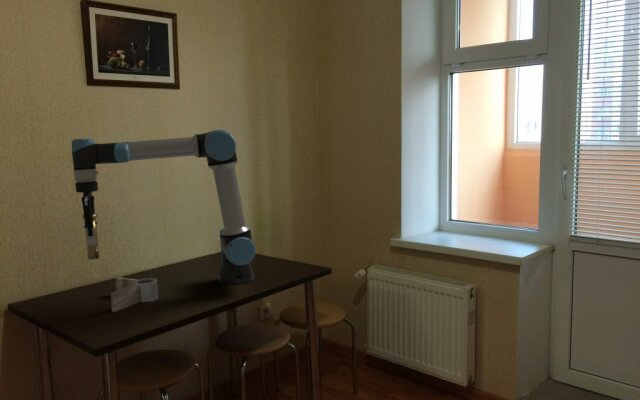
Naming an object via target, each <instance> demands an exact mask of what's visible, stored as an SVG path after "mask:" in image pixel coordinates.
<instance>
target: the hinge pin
mask: <svg viewBox="0 0 640 400" xmlns="http://www.w3.org/2000/svg"><path fill="white" fill-rule="evenodd" d="M92 216H93V225H94V226H93V227H94V231H95V241H96V244H95V245H88V243H87V234H86V228H84V231H85V233H84V234H85V240H86V250H87V251H86V253H87V260H89V261H90V260H97V259H100V247H99V238H98V237H99V236H98V229H97V225H98V224H96V222H97V218H98V213H96V212H95V213H94V214H92ZM81 218H82V219H83V223H84V224H85V221H84V214H82V215H81Z"/></svg>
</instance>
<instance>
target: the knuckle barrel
mask: <svg viewBox="0 0 640 400" xmlns="http://www.w3.org/2000/svg"><path fill="white" fill-rule="evenodd" d="M136 280H137V281H134V285H135V284H138V287H139V299H140V302H139V303H147V302H153V301H156V300H158V299H159V290H158V279H157V278H152V277H149V278H140V279H136Z"/></svg>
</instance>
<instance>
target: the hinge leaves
mask: <svg viewBox="0 0 640 400" xmlns="http://www.w3.org/2000/svg"><path fill="white" fill-rule="evenodd" d="M137 280H138V279H134V278H127V277H119V276H116V277H114V283H115V291H112V292H110V301H111V302H110V305H111V312H113V313H115V312H119V311H120V310H123V309H125V308H129V307H131V306H134V305H136V304H138V303H141V302H140V299H139V287H138V284H135V285H134V281H137Z"/></svg>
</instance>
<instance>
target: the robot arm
mask: <svg viewBox="0 0 640 400" xmlns="http://www.w3.org/2000/svg"><path fill="white" fill-rule="evenodd" d="M71 156H72V157H71V158H72V165H73V176H74V181H75V183H74V185H75V192H76V193H82V197H81V203H82V209H83V215H84V219H83V222H84V221H85V223H84V226H83V229H85V228H86V233H85V235H86V234H87V243H88V245H95V244H96V241H95V231H94V227H93V226H94V225H93V216H92V214H94V213H96V211H95V195H93V193H94V192H98V191H99V184H98V180H97V179H98V176H97V175H98V174H99V171H97V166H96V165H102V164H103V165H106V164H123V163H129V162H130V161H141V160H142V161H143V160H144V161H145V160H157V159H168V158H178V157H179V158H180V157H181V158H182V157H192V156H193V157H194V156H195V157H196V158H198V159H199V158H206V162H207V166H208V168H209V169H211V170H212V172H213V178H214V182H215V188H216V192H217V198H218V203H219V208H220V213H221V217H222V224H223V228H221V229H220V230H219V239H220V240H219V241H220V242H219V243H220V254H221V255H220V256H221V266H220V270H219V274H218V283H220V284H222V285H242V284H246V283H250V282H251V281H253V280H254V279H255V274H254V271H253V268H252V265H251V261H252V260H253V259H254V258H255V256H256V249H257V248H256V244H255V243H254V241H253V237H252V231H251V227H249V226H248V225H246V220H245V219H246V218H245V214H244V210H243V203H242V199H241V195H240V194H241V192H240V188H239V182H238V177H237V172H236V164H237V163H238V156H237V141H236V139H235V137H234V136H233V134H231V133H230V132H229V131H227V130H225V129H215V130H210V131H208V132H203V133H198V134H194V135H193V136H191V137H189V136H188V137H187V136H186V137H176V138H162V139H151V140H150V139H149V140H136V141H122V142H121V141H119V142H107V143H105V142H104V143H95V142H94V139H93V138H76V139H72V140H71ZM96 225H98V222H97V221H96ZM87 243H86V244H87Z"/></svg>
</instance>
